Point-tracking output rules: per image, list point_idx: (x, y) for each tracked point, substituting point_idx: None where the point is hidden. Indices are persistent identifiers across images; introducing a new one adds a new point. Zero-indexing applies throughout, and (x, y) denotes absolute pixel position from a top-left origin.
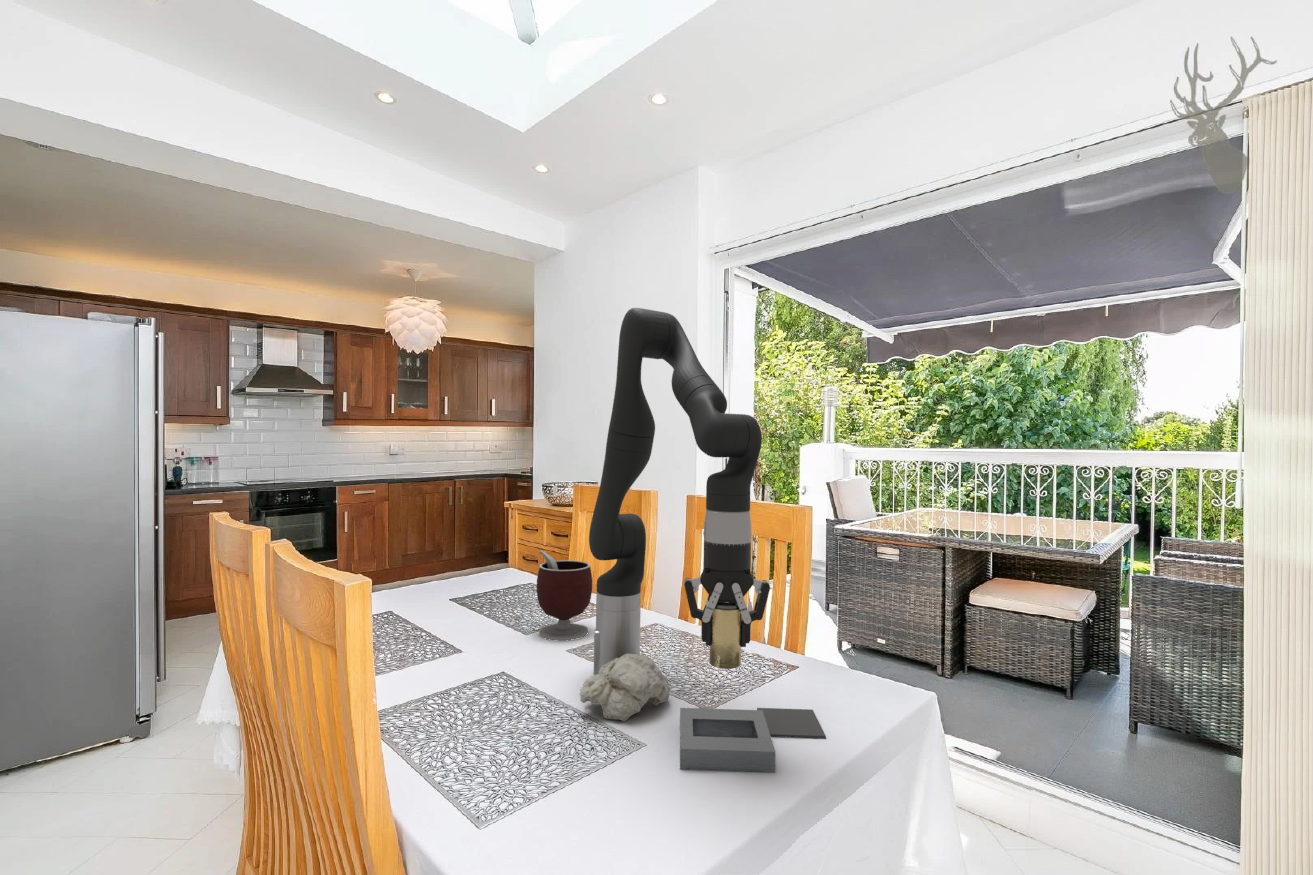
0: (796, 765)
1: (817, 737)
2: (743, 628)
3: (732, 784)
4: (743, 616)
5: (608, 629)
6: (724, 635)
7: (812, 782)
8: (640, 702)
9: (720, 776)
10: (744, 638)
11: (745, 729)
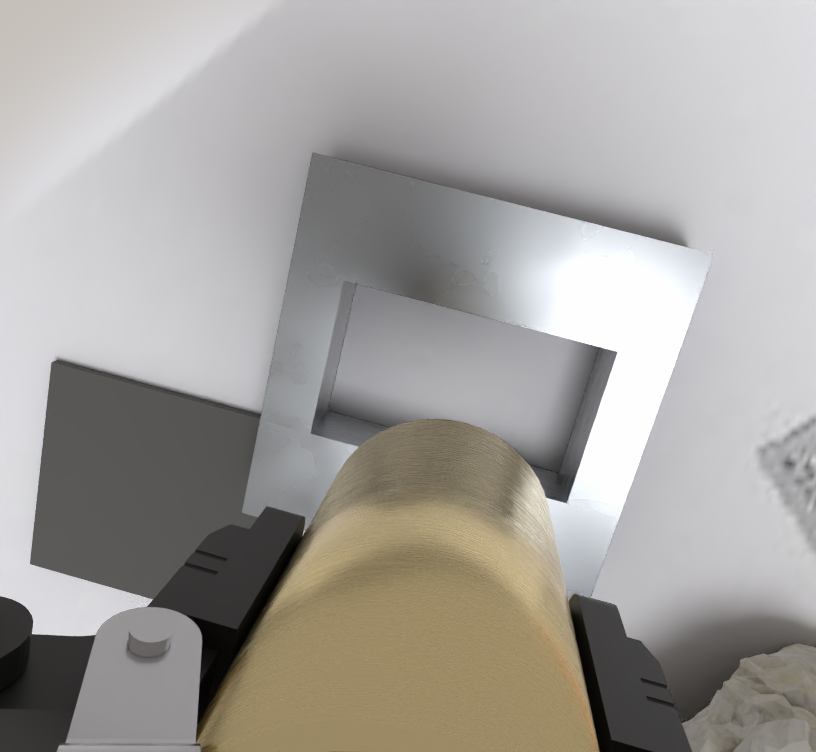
0: (234, 192)
1: (85, 368)
2: (236, 596)
3: (523, 102)
4: (180, 683)
5: None
6: (480, 541)
7: (219, 64)
8: (752, 684)
9: (548, 167)
10: (259, 540)
11: (350, 430)
